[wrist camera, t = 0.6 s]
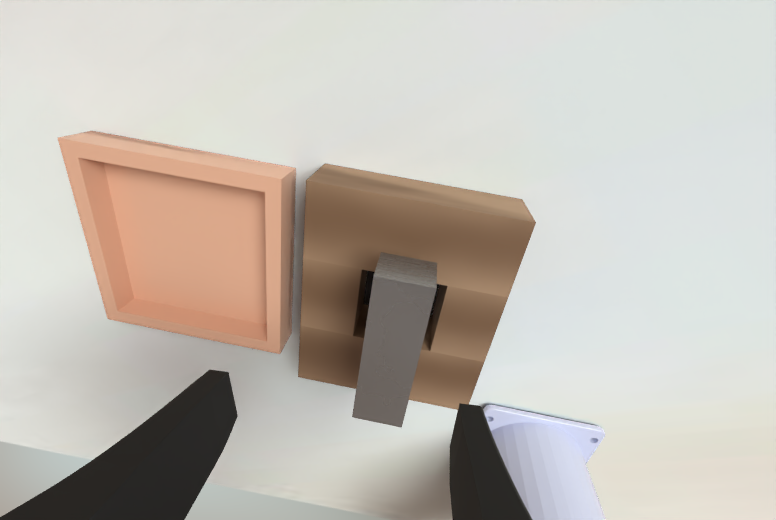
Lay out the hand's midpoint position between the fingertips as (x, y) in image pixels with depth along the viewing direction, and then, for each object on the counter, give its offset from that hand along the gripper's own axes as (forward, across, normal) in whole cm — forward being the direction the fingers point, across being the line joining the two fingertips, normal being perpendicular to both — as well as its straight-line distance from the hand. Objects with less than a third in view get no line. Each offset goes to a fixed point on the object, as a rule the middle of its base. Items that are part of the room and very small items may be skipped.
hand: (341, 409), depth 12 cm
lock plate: (+10, -1, +2) cm, 11 cm away
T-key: (+10, -1, +2) cm, 11 cm away
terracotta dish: (+11, +11, +1) cm, 15 cm away
